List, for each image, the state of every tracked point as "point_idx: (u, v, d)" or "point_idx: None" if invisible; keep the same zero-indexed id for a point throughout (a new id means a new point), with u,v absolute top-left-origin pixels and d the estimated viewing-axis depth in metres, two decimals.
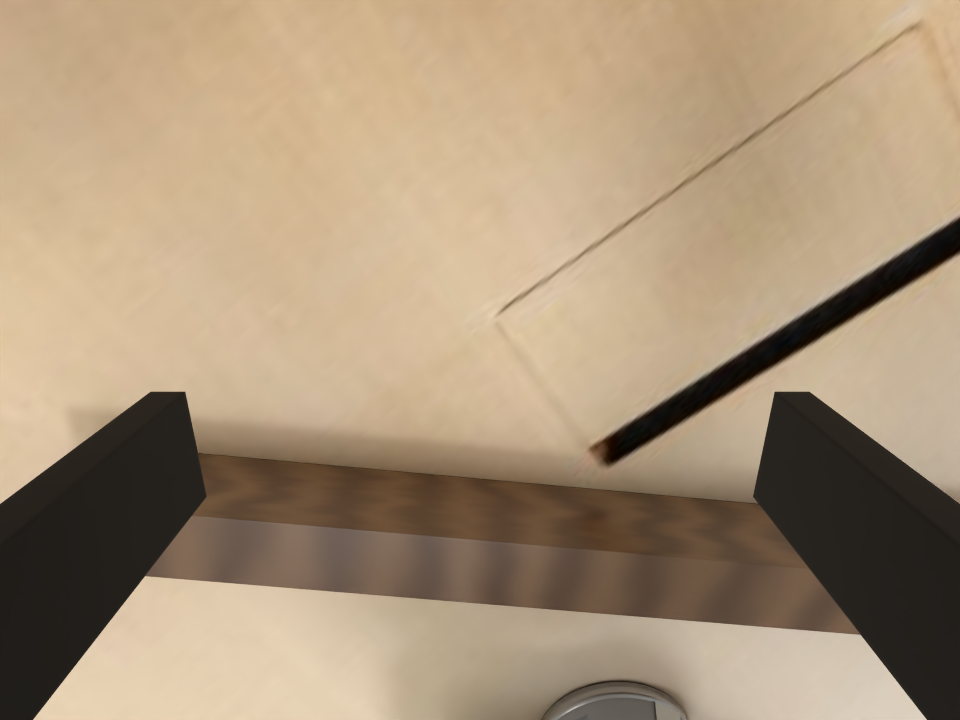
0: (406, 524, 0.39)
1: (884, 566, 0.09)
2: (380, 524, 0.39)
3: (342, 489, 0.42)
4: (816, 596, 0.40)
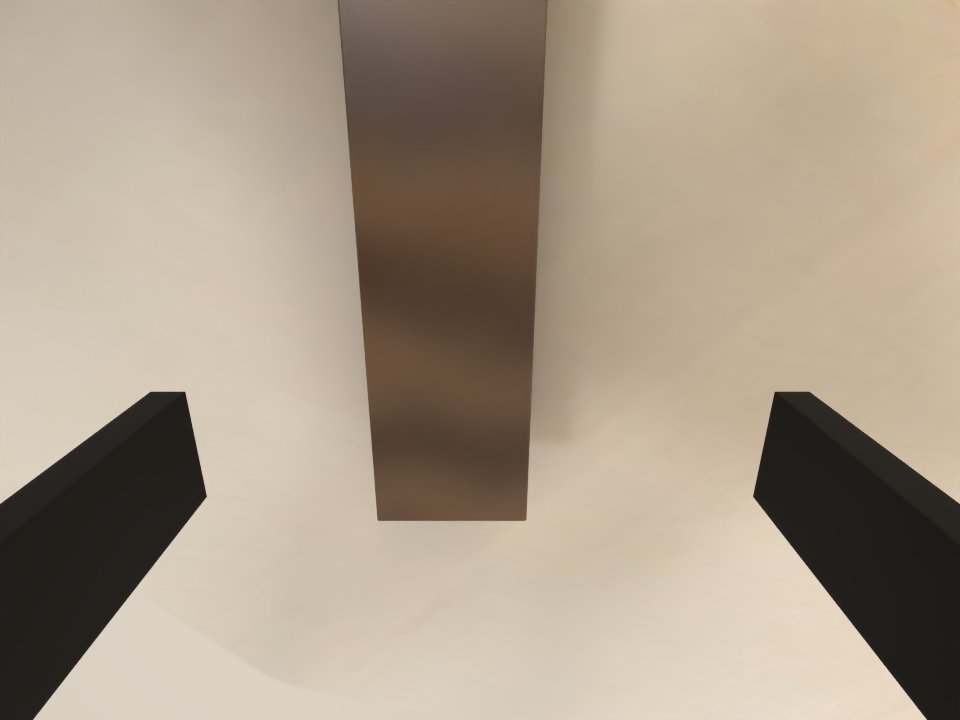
0: None
1: (884, 565, 0.09)
2: None
3: None
4: None
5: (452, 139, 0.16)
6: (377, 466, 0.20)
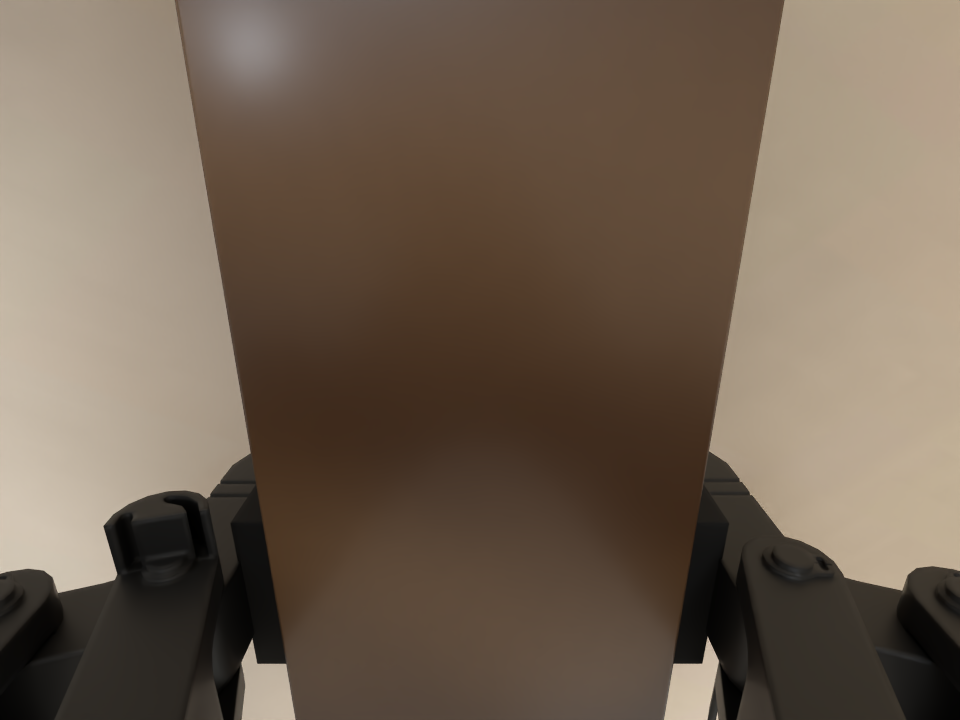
0: None
1: None
2: None
3: None
4: None
5: None
6: None
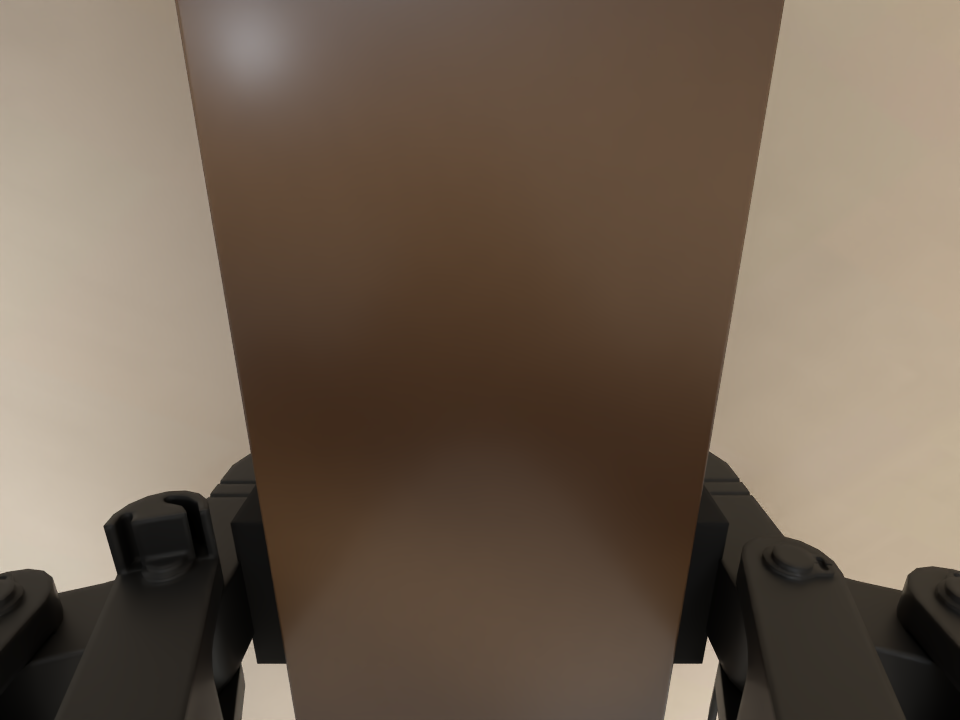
0: None
1: None
2: None
3: None
4: None
5: None
6: None
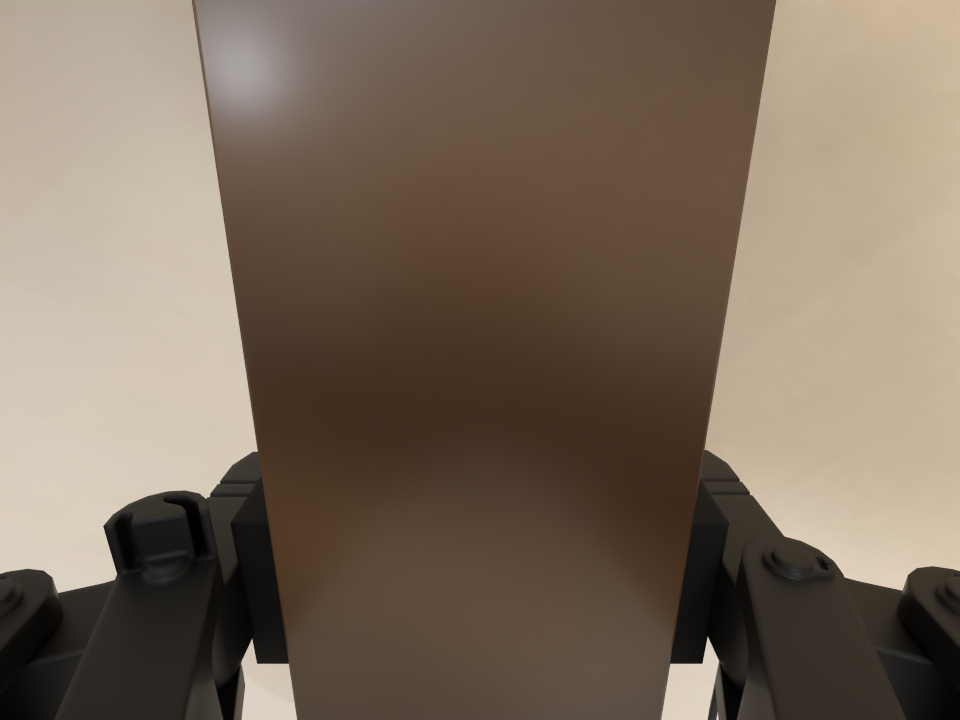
0: None
1: None
2: None
3: None
4: None
5: None
6: None
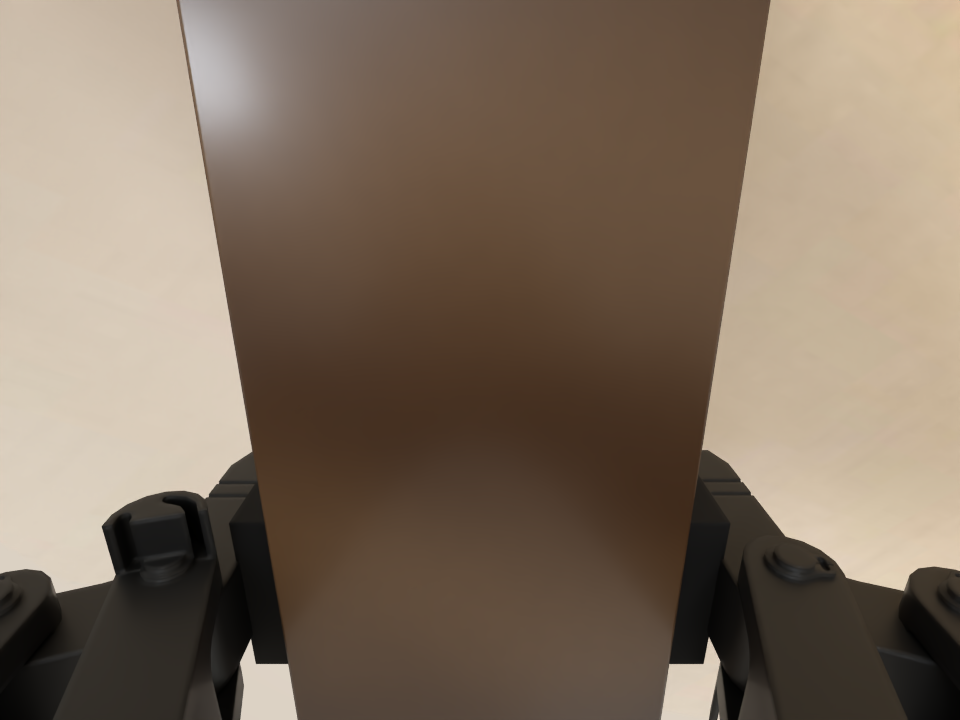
0: None
1: None
2: None
3: None
4: None
5: None
6: None
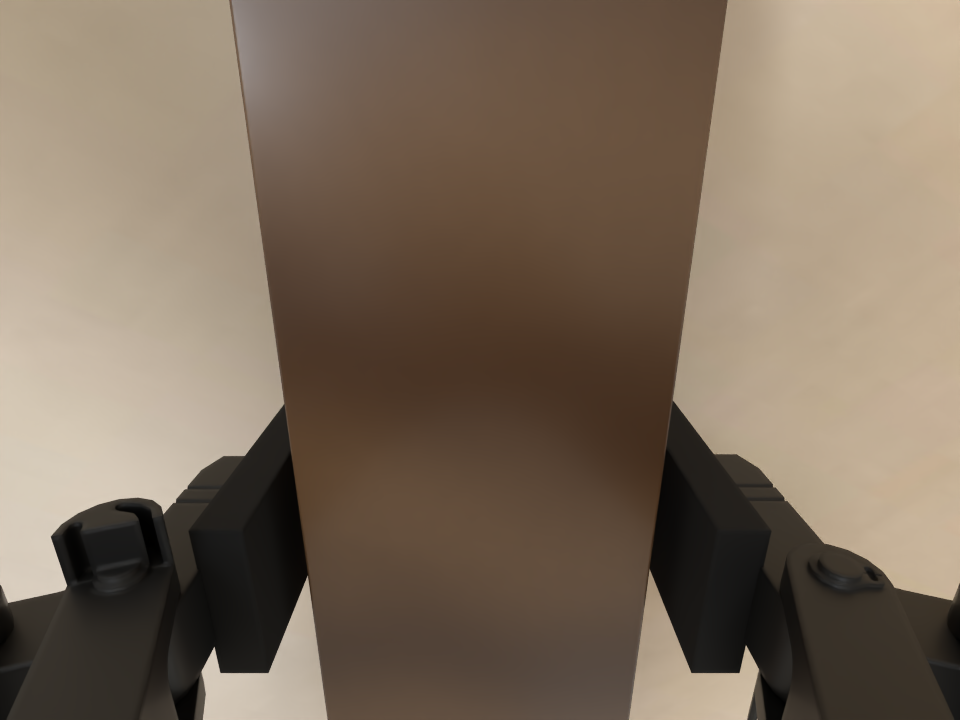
0: None
1: None
2: None
3: None
4: None
5: None
6: (332, 692, 0.10)
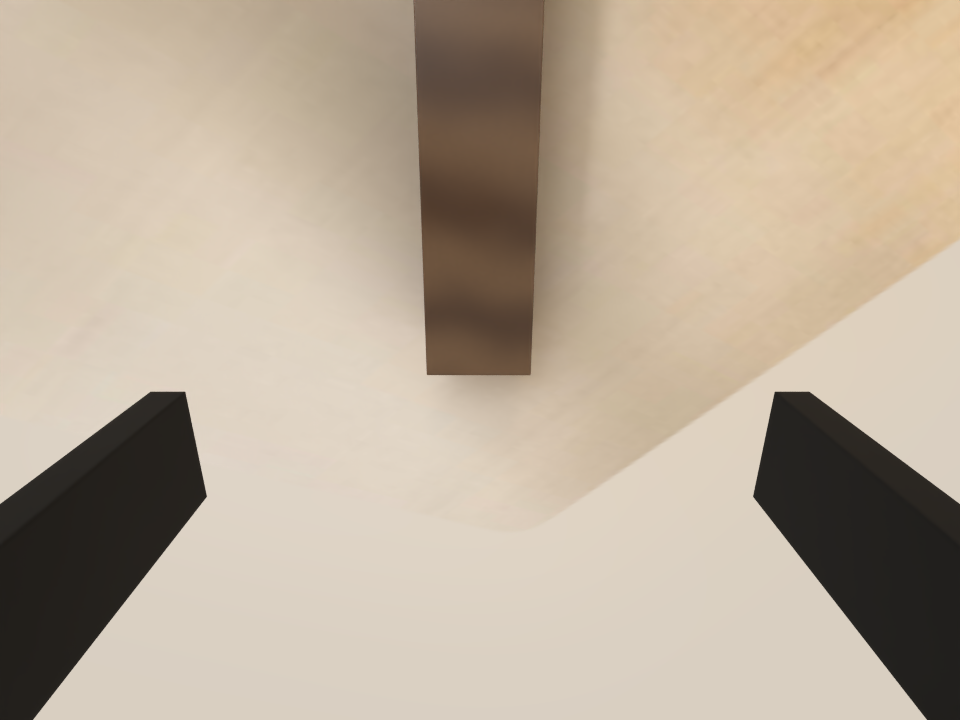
0: None
1: (884, 566, 0.09)
2: None
3: None
4: None
5: (483, 103, 0.25)
6: (428, 333, 0.29)
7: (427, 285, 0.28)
